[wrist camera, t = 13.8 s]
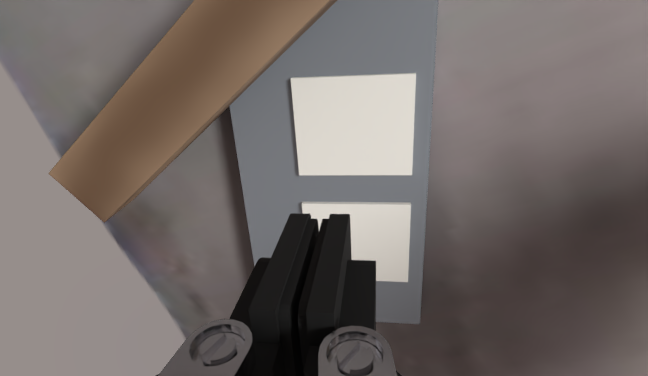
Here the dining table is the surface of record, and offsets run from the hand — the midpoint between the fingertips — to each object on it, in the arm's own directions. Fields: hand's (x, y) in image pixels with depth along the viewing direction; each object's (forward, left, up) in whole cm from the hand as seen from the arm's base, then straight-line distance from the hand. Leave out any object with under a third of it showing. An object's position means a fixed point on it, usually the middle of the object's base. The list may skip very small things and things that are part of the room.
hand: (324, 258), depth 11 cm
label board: (+2, +4, -15) cm, 16 cm away
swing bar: (+6, -5, -12) cm, 15 cm away
